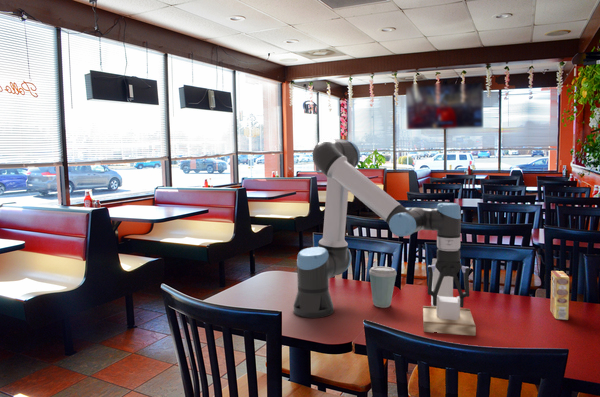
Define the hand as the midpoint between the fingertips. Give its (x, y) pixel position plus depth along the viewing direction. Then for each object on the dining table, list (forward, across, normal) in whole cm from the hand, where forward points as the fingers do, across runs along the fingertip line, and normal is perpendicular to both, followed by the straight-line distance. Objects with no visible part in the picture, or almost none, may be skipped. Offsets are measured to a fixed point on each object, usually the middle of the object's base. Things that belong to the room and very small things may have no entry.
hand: (447, 315), depth 153 cm
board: (+3, 0, 0) cm, 3 cm away
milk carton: (+4, -1, +17) cm, 17 cm away
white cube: (+1, 0, 0) cm, 1 cm away
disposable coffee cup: (+3, -23, +16) cm, 28 cm away
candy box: (+4, +39, +17) cm, 43 cm away
